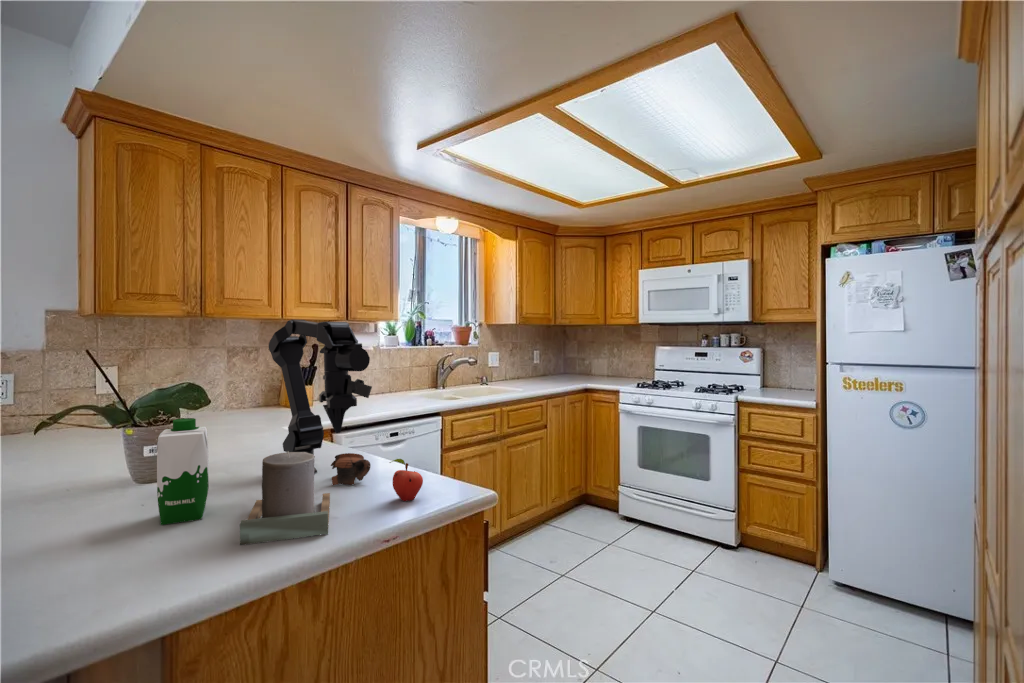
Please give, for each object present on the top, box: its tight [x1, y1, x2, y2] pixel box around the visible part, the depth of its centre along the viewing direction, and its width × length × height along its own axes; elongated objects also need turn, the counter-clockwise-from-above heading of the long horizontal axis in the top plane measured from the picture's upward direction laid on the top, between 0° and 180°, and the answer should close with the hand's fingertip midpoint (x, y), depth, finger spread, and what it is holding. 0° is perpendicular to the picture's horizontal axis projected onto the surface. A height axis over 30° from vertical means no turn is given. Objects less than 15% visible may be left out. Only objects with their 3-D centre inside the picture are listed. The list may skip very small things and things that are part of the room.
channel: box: [239, 492, 331, 546], centre depth 100 cm, size 19×15×4 cm
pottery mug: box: [330, 452, 371, 486], centre depth 127 cm, size 12×10×8 cm
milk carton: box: [155, 417, 209, 526], centre depth 102 cm, size 9×9×20 cm
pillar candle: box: [261, 451, 316, 518], centre depth 98 cm, size 10×10×15 cm
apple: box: [388, 458, 424, 502], centre depth 113 cm, size 8×7×10 cm
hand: (337, 432), depth 123 cm, fingers closed
